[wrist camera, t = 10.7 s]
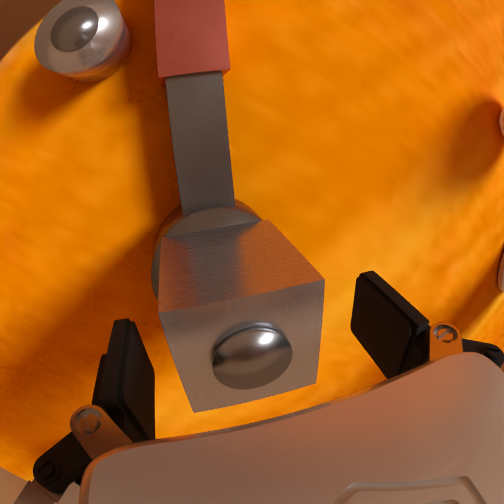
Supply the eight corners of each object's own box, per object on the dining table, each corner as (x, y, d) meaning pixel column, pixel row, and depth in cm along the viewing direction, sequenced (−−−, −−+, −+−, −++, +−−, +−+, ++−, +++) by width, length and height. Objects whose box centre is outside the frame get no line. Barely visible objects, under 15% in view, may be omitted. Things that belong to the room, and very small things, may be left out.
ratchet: (245, -26, 11) (281, -80, 6) (271, 290, 20) (307, 351, 15) (121, -15, 10) (103, -70, 4) (167, 310, 19) (171, 381, 13)
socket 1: (130, 10, 11) (119, -21, 7) (133, 73, 12) (120, 56, 9) (63, 30, 10) (34, 7, 6) (65, 91, 12) (33, 84, 8)
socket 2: (268, 219, 15) (329, 283, 9) (273, 306, 17) (318, 387, 11) (161, 237, 14) (157, 319, 8) (182, 324, 16) (194, 418, 10)
